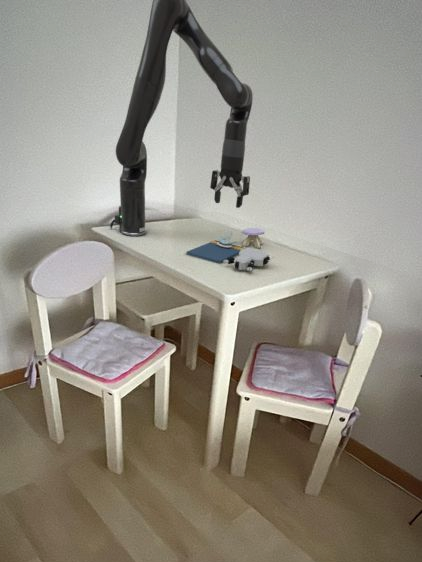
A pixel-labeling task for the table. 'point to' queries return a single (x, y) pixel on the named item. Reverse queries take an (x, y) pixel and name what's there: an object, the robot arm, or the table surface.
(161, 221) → the table surface
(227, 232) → the pacifier
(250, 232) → the toy table
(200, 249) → the blue book
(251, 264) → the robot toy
